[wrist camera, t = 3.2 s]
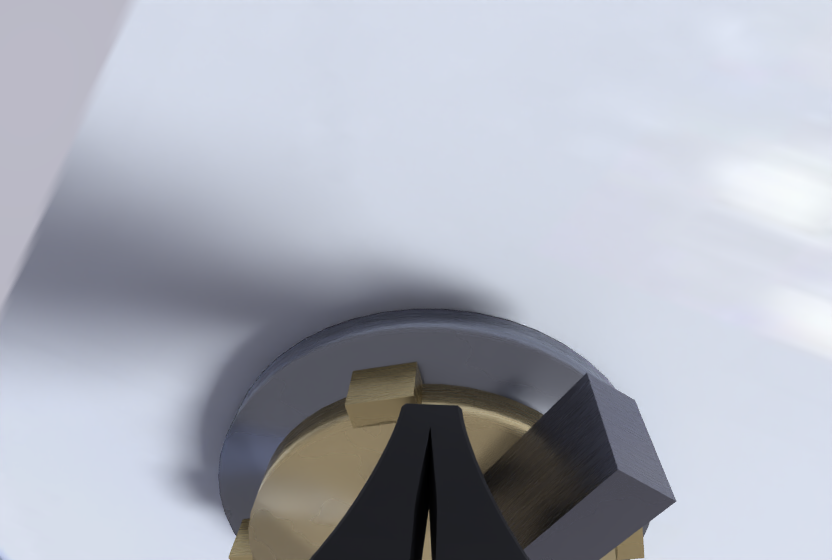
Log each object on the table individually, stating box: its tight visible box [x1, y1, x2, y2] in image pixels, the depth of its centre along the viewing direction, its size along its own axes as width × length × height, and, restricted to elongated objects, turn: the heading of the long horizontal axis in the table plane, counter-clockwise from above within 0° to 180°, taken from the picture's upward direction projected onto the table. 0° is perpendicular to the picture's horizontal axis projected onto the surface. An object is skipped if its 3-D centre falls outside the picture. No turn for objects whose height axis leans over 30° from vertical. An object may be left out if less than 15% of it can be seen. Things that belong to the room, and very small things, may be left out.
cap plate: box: [218, 309, 649, 560], centre depth 19 cm, size 14×14×1 cm
